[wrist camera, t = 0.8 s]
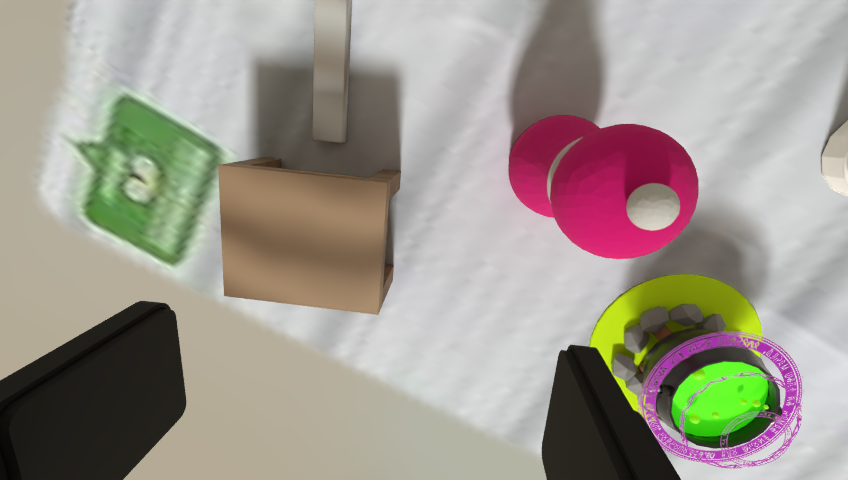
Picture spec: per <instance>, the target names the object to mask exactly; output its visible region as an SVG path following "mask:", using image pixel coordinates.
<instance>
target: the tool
mask: <svg viewBox="0 0 848 480" xmlns="http://www.w3.org/2000/svg"><path fill="white" fill-rule="evenodd" d="M351 11H352V0H315V18H314V78H313V137H312V140H319V141H329V142H339V143H343V142H346V138H347V113H348V87H349V62H350V36H351Z"/></svg>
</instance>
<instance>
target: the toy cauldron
mask: <svg viewBox="0 0 848 480" xmlns="http://www.w3.org/2000/svg"><path fill="white" fill-rule="evenodd" d="M764 339H766V338H764ZM766 340H768V339H766ZM763 341H764V342H767V343H768V344H770V343H769V342H768V341H770V340H768V341H765V340H763V336H762V329H761V324H760V321H759V319H758V317H757V314H756V312H755V310H754V309H753V307H752V306H751V305H750V303H749V302H748V301H747V299H746V298H745V297H743V296H742V295H741V294H740V293H739V292H737V291H736V290H735V289H734V288H732V287H730V286H728V285H726V284H725V283H723V282H721V281H719V280H715V279H712V278H708V277H705V276H700V275H688V274H680V275H670V276H663V277H660V278H656V279H652V280H649V281H646V282H644V283H642V284H640V285H638V286H635V287H633V288H631V289H630V290H629V291H627V292H626V293H624V294H623V295H621V296H620V297H618V298H617V299H616V300H615V301H614V302H613V303H612V304H611V305H610V306H609V307H608V308H607V309H606V310H605V312H604V313H603V315H602V316H601V317H600V319H599V320H598V322H597V324H596V326H595V328H594V331H593V333H592V335H591V339H590V344H589V347H595V348H597V349H598V351H599V353H600V354H601V356H602V358H603V359H604V361H605V363H606V364H607V366H608V368H609V369H610V371H611V373H612V375H613V376H614V378H615V380H616V381H617V383H618V385H619V386H620V388H621V390H622V391H623V393H624V395H625V397H626V398H627V400H628V402H629V403H630V405H631V407H632V408H633V410H635V411H637V412H639V413H640V414H641V415H642V417H643V418H644V420H645V421H646V420H648V421H649V420H652V422H654V423H655V421H656V423H658V424H656V423H655V424H654V423H652V422H650V421H649V422H648V423H649V425H650V424H651V423H652V424H651V425H650V427H651V429H652V431H653V432H654V433H655V435H656V436H657V437H658V434H659V439H660V440H661V441H662V442H663V443H664V442H666V441H667V440H668V439H669V438H671V439H672V441H671V439H669V440H670V441H671V442H670V441H669V440H668V441H669V442H670V443H673V442H674V443H673V444H674V445H672V444H670V443H669V442H668V441H667V442H668V443H667V442H666V443H667V446H668V447H669V446H670V448H671V449H673V450H675V451H677V449H678V448H679V447H680V446H681V447H680V448H679V449H678V451H677V452H679V453H681V454H684V453H685V454H684V455H687V456H690V454H692V453H691V452H693V451H694V452H693V454H692V455H691V457H694V454H697V455H696V456H695V458H697V459H694V458H690V457H686V456H683V455H681V454H678V453H676V452H674V451H672V450H670V449H669V448H667V447H666V446H665V445H666V444H665V443H664V444H665V445H663V444H662V443H661V442H660V441H659V440H658V439H657V438H656V437H655V438H656V439H657V441H658V443H660V444H661V445H662V446H664V447H665V448H667V451H668V450H669V452H670V451H671V452H670V453H672V452H673V453H676V454H678V455H680V456H682V457H681V458H683V457H684V459H686V458H689V459H687V460H690V459H691V460H692V459H694V460H692V461H695V460H696V461H697V460H699V461H697V462H701V461H703V462H704V461H705V463H707V464H709V463H715V464H717V462H718V461H723V462H727V461H726V460H729V461H732V460H731V459H734V458H738V462H739V459H740V458H739V457H742V456H745V455H747V454H750V453H751V454H750V455H752V454H754V453H752V452H754V451H757V450H759V449H761V450H762V449H763V448H762V447H764V446H766V445H767V444H768V443H770V442H771V441H772V440H773V439H774V438H776V437H777V436H778V435H779V434H780V433H782V431H784V432H785V430H787V428H788V427H790V426H788V427H787V425H790V424H791V423H790V421H791V419H792V417H794V418H795V416H796V414H797V412H796V414H794V413H795V411H796V409H797V411H798V414H799V409H801V407H800V406H802V405H800V403H798V402H801V399H800V401H799V397H800V395H801V398H802V382H801V385H800V384H799V383H800V382H799V378H798V376H800V373H799V370H798V368H797V366H796V364H795V362H794V361H793V359H792V358H791V357H790V356H789V354H788V353H787V352H786V351H785V350H783V349H782V348H781V347H780V346H778V345H777V344H775V343H774V342H772V341H770V342H772V343H774V344H775V345H777V346H778V347H780V348H781V349H782V350H783V351H784V353H786V354H787V355H788V356H789V357H790V358H791V359H792V361H793V362H794V364H795V365H793V363H792V361H790V360H791V359H790V360H789V358H788V357H787V356H786V354H784V353H783V351H781V349H778V348H777V346H776V347H775V346H774V345H772V344H770V345H772V346H774V347H775V348H777V349H778V350H779V351H780V352H781V353H783V354H784V355H785V356H786V358H787V359H788V360H789V361H790V363H791V364H792V366H793V368H794V370H795V373H796V376H797V380H798V388H799V392H798V400H797V403H796V397H797V383H796V385H794V384H795V382H796V378H795V375H794V372H793V370H792V368H791V366H790V364H789V363H788V362H787V360H786V359H785V358H784V357H783V356H782V355H781V354H780V353H779V352H778V351H777V350H775V349H774V348H772V347H771V346H769V345H767V344H765V343H763ZM771 349H773V350H772V351H773V352H772V351H771ZM764 351H766V353H767V352H768V351H769V352H770V351H771V352H772V353H771V352H770V353H769V352H768V353H769V354H768V353H767V354H768V356H769V355H770V354H771V355H770V356H769V357H768V356H767V355H766V353H765V354H763V352H764ZM777 353H778V354H779V355H778V354H777ZM761 354H763V355H765V356H766V357H768V358H769V359H770V357H771V359H770V360H771V361H772V362H773V363H774V364H775V365H776V366H777V367H778V369H779V370H780V372H781V374H782V376H783V379H784V382H783V381H781V380H779V379H778V380H776V379H777V378H776V379H774V378H775V377H773V376H772V375H771V374H770V372H769V371H768V370H767V368H766V367H765V365H764V363H763V361H762V359H761V358H760V357H761ZM775 354H776V355H775ZM774 355H775V356H774ZM777 355H778V356H777ZM773 356H774V357H775V358H774V357H773ZM776 356H777V357H776ZM781 356H782V357H781ZM773 358H774V359H773ZM776 358H778V359H779V360H781V359H782V360H781V361H783V360H785V362H784V361H783V362H784V363H783V362H781V361H779V360H778V359H776ZM775 359H776V360H775ZM773 360H774V361H773ZM777 360H778V361H777ZM771 361H770V362H771ZM776 361H777V362H776ZM780 362H781V363H780ZM777 363H780V364H781V365H780V366H779V364H777ZM782 363H783V364H782ZM786 364H788V365H786ZM784 365H786V366H785V367H789V366H790V367H789V368H787V369H785V367H784V369H785V370H783V369H782V368H783V367H782V366H784ZM794 366H796V367H794ZM780 367H782V368H780ZM795 368H797V369H795ZM782 370H783V371H782ZM796 370H798V371H796ZM790 372H792V373H790ZM797 372H798V373H799V375H797V374H798V373H797ZM788 373H789V374H788ZM786 374H787V375H786ZM791 374H792V375H791ZM785 375H786V377H789V378H790V379H792V380H793V381H791V382H790V380H787V379H789V378H785V377H784V376H785ZM788 375H789V376H788ZM791 376H792V377H791ZM794 378H795V380H794ZM775 381H780V382H781V383H782V385H783V386H782V385H781V386H782V387H783V388H785V389H786V395H785V402H784V406H783V408H782V409H781V407H780V389H779V388H778V386H777V384H778V383H777V384H776V382H775ZM787 381H789V382H787ZM800 381H801V376H800ZM783 383H785V385H784V384H783ZM787 383H789V384H787ZM790 383H793V384H790ZM779 385H780V384H779ZM790 385H792V386H790ZM788 386H789V387H788ZM800 386H801V392H800ZM792 388H793V390H794V391H792V390H790V389H792ZM795 389H796V390H795ZM788 390H789V391H788ZM787 391H788V392H787ZM800 393H801V394H800ZM788 397H790V398H791V397H792V400H790V401H787V400H788V399H789V398H788ZM793 397H794V398H795V399H793ZM787 402H789V403H790V404H792V403H794V405H789V406H788V405H786V404H789V403H787ZM795 405H796V408H795V410H794V413H793V415H795V416H793V415H792V417H791V418H790V420H789V422H788V423H790V424H788V423H787V424H786V422H787V421H788V419H789V417H790V415H791V414H790V413H792V411H793V409H794V406H795ZM798 406H799V407H800V408H799V407H798ZM797 407H798V408H797ZM784 411H786V412H784ZM800 411H801V410H800ZM783 413H787V414H783ZM798 414H797V417H796V418H797V424H796V427H795V429H794V431H793V433H792V431H791V437H790V438H789V440H788V441H789V442H788V441H787V440H786V441H787V442H788V444H787V445H785V444H786V443H787V442H786V443H785V444H784V443H783V445H782V447H783V446H786V447H787V446H788V445H790V443H791V442H792V441H790V440H791V439H792V437H793V436H794V435H795V434H796V435H797V432H798V431H797V432H796V433H795V434H794V432H795V430H796V428H797V426H798V430H799V428H800V427H799V421H801V419H802V416H801V415H800V414H799V415H800V416H801V418H799V417H800V416H799V415H798ZM787 415H788V416H787ZM786 416H787V418H788V419H787V418H786ZM784 417H785V418H784ZM783 418H784V419H783ZM794 418H793V419H794ZM785 419H787V420H785ZM781 420H782V421H785V422H781V423H782V424H783V425H782V424H780V423H779V422H780V421H781ZM659 421H660V422H662V423H665V424H666V425H667V426H669V427H671V428H672V429H674V430H676V431H677V432H679V433H680V435H681V436H682V437H683V438H682V437H681V438H682V441H685V440H686V445H687V446H685V444H684V445H683V444H681V443H679V442H677V441H676V440H674V439H673V438H672V437H670V436H669V435H668V434H667V433H666V431H665V430H664V429H663V428H662V426H661V424H660V422H659ZM792 421H793V420H792ZM792 421H791V422H792ZM646 423H647V422H646ZM653 424H654V425H653ZM775 424H776V425H778V426H776V427H778V428H776V427H775ZM785 424H786V425H785ZM655 425H659V426H660V427H658V426H655ZM770 425H772V426H771V427H770V428H769V429H768V430H767V431H766V432H765V433H763V432H764V431H765V430H766V429H767V428H768V426H770ZM784 425H785V427H784V428H783V429H782V427H783V426H784ZM800 425H801V423H800ZM653 426H654V427H653ZM773 426H774V427H773ZM779 426H780V427H781V428H780V427H779ZM655 427H657V428H658V429H657V428H655ZM772 427H773V428H772ZM653 428H654V429H653ZM659 428H661V430H659ZM771 428H772V429H771ZM774 428H775V430H776V431H778V432H779V431H780V430H781V429H782V431H781V432H780V433H779V434H778V435H777V436H776V437H774V436H775V435H776V434H777V433H778V432H777V433H776V434H775V433H774V432H776V431H774V432H772V431H771V430H773V429H774ZM785 428H786V429H785ZM655 429H656V430H655ZM770 429H771V430H770ZM784 429H785V430H784ZM790 430H791V428H790ZM784 432H783V433H784ZM787 432H788V431H787ZM789 432H790V431H789ZM662 433H663V434H662ZM761 433H763V434H762V435H761V436H759V437H758V438H756V439H755V440H753V441H751V440H752V439H754V438H755V437H757V436H758V435H760V434H761ZM783 433H782V434H783ZM661 434H662V435H664V434H665V435H666V437H668V438H666V439H665V438H662V437H665V435H664V436H662V435H661ZM782 434H781V435H782ZM793 434H794V435H793ZM764 435H765V436H766V438H767V437H768V438H769V440H770V439H771V438H772V437H774V438H773V439H772V440H771V441H769V440H767V439H768V438H767V439H766V438H764V437H765V436H764ZM781 435H780V436H781ZM796 435H795V436H796ZM762 436H764V437H762ZM780 436H779V437H780ZM761 438H762V439H763V440H764V441H765V442H764V441H763V440H762V444H761V443H760V442H761V441H760V440H761ZM794 438H795V437H794ZM794 438H793V439H794ZM758 439H760V440H758ZM776 439H777V438H776ZM776 439H775V440H776ZM785 439H786V433H785ZM687 440H688V441H690V442H692V443H694V444H696V445H699V446H704V447H709V448H721V449H722V448H724V449H725V448H728V447H734V446H736V448H733V449H729V448H728V450H723V449H722V451H704V450H703V449H702V450H698V449H694V448H692V447H691V448H690V447H688V441H687ZM775 440H774V441H775ZM749 441H751V442H749ZM758 441H759V442H758ZM767 441H769V442H768V443H767V444H765V445H764V446H762V447H760V448H758V447H759V446H761V445H763V444H764V443H766V442H767ZM774 441H773V442H774ZM746 442H749V443H747V444H745V445H742V446H740V444H743V443H746ZM755 442H756V443H757V444H753V443H755ZM773 442H771V443H773ZM784 442H785V440H784ZM676 443H677V444H676ZM683 443H684V442H683ZM751 443H752V445H753V446H752V445H751ZM771 443H770V444H771ZM669 444H670V445H669ZM758 444H759V445H758ZM770 444H769V445H770ZM661 445H660V446H661ZM676 445H679V446H676ZM737 445H739V446H740V447H737ZM746 445H747V446H746ZM749 445H750V446H751V447H750V446H749ZM754 445H755V446H754ZM662 446H661V447H662ZM674 446H675V448H677V447H678V448H677V449H675V448H674ZM682 446H683V447H684V448H683V447H682ZM744 446H745V447H746V448H747V447H748V451H747V449H746V448H745V447H744ZM756 446H758V447H756ZM767 446H768V445H767ZM767 446H766V447H767ZM664 447H662V448H664ZM685 447H686V449H688V450H687V453H686V450H685ZM742 447H743V449H744V448H745V449H744V450H743V449H742ZM749 447H750V449H749ZM782 447H781V448H782ZM786 447H785V448H786ZM788 447H789V446H788ZM788 447H787V449H788ZM665 448H664V449H665ZM753 448H754V449H756V448H758V449H756V450H754V449H753ZM764 448H765V447H764ZM781 448H780V449H778V450H777V451H776V452H774V453H775V454H776V453H777V452H779V451H781V450H782V451H781V452H783V451H784V449H785V448H783V449H781ZM680 449H681V450H680ZM682 449H683V450H685V451H684V453H683V450H682ZM689 449H690V450H689ZM735 449H736V450H735ZM787 449H786V450H787ZM665 450H666V449H665ZM679 450H680V451H679ZM692 450H693V451H692ZM730 450H731V452H730ZM732 450H733V451H732ZM745 450H746V451H747V452H749V451H752V450H754V451H752V452H750V453H747V452H745ZM786 450H785V451H786ZM681 451H682V452H681ZM690 451H691V452H690ZM696 451H698V453H697V452H696ZM724 451H725V452H724ZM734 451H736V452H737V454H736V452H734ZM759 451H760V450H759ZM700 452H701V453H700ZM702 452H703V455H702V456H701V455H700V454H702ZM705 452H706V453H708V452H710V453H711V454H712V453H713V454H714V453H715V456H714V458H712V459H722V458H723V457H724V456H722V452H723V455H725V457H724V458H728V459H724V460H725V461H724V460H708V459H711V458H710V454H708V455H709V458H708V457H707V458H706V455H707V454H706V453H705ZM727 452H728V453H727ZM733 452H734V453H733ZM757 452H758V451H757ZM781 452H779V453H780V454H781ZM673 453H672V454H673ZM689 453H690V454H689ZM699 453H700V454H699ZM730 453H731V454H730ZM744 453H747V454H745V455H742V456H738V455H741V454H744ZM755 453H756V452H755ZM774 453H773V455H772V454H771V455H772V456H771V457H768V458H769V459H770V460H771V458H773V459H774V458H776V457H775V456H779V455H778V454H779V453H778V454H777V455H775V454H774ZM705 454H706V455H705ZM713 454H712V455H711V457H713ZM734 454H736V455H734ZM674 455H675V454H674ZM678 455H676V456H678ZM728 455H729V456H730V455H731V457H734V458H730V459H729V457H728ZM774 455H775V456H774ZM680 456H678V457H680ZM735 456H738V457H735ZM748 456H749V455H748ZM769 456H770V455H769ZM780 456H781V455H780ZM780 456H779V457H780ZM685 457H686V458H685ZM700 457H701V458H702V459H707V460H702V459H701V458H700ZM745 457H746V456H745ZM779 457H778V458H779ZM699 458H700V459H699ZM742 458H744V457H742ZM765 458H766V457H765ZM768 458H766V459H763V460H758V461H761V463H763V462H765V461H764V460H766V462H767V460H769V459H768ZM776 459H777V458H776ZM700 460H701V461H700ZM734 460H736V461H737V459H734ZM741 460H742V459H740V461H741ZM774 460H775V459H774ZM774 460H773V461H774ZM713 461H714V462H713ZM715 461H717V462H715ZM743 461H746V460H743ZM758 461H755V462H758ZM762 461H763V462H762ZM733 462H734V461H733ZM741 462H742V461H741ZM751 462H752V464H753V465H752V464H750V461H749V463H748V462H747V463H746V464H744V463H745V462H744V463H743V464H740V466H741V465H745V466H744V467H746V466H748V467H749V466H758V465H757V463H756V464H755V463H754V461H751ZM771 462H772V461H771ZM735 463H736V462H735ZM768 463H769V462H768ZM737 464H739V463H737ZM758 464H760V463H758ZM765 464H767V463H765ZM710 465H712V464H710ZM717 465H719V463H718V464H717ZM725 465H727V464H725ZM761 465H763V464H761ZM713 466H716V465H713ZM729 466H734V467H733V468H737V467H738V465H729ZM736 466H737V467H736ZM740 466H739V468H741V467H740ZM717 467H722V468H732V467H728V466H721V465H719V466H717Z"/></svg>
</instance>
